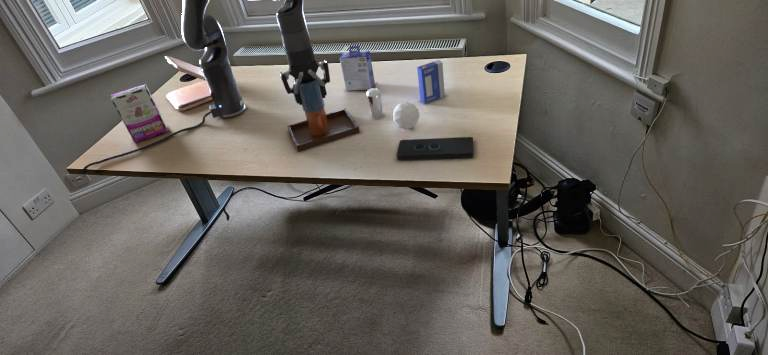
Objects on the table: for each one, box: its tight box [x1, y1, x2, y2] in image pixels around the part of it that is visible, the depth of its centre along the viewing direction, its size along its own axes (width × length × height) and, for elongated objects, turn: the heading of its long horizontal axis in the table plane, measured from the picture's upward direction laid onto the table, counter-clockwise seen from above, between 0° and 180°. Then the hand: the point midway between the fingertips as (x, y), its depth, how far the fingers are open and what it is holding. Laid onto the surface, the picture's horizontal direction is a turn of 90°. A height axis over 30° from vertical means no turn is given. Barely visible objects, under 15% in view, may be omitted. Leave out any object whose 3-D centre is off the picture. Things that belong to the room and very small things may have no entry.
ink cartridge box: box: [339, 45, 376, 92], centre depth 163 cm, size 10×6×14 cm, turn 79°
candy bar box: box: [110, 83, 169, 144], centre depth 155 cm, size 11×5×16 cm, turn 117°
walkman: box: [416, 59, 446, 105], centre depth 148 cm, size 8×3×12 cm, turn 116°
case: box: [164, 55, 213, 112], centre depth 178 cm, size 20×21×16 cm
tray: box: [287, 108, 361, 153], centre depth 143 cm, size 19×14×2 cm
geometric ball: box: [392, 101, 420, 130], centre depth 137 cm, size 8×8×8 cm
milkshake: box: [365, 81, 384, 119], centre depth 145 cm, size 5×5×10 cm
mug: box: [303, 107, 329, 136], centre depth 140 cm, size 8×6×8 cm
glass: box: [298, 78, 325, 113], centre depth 136 cm, size 6×6×9 cm
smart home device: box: [396, 136, 474, 161], centre depth 126 cm, size 8×2×20 cm
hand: (311, 100), depth 138 cm, fingers closed on glass, 6 cm apart
